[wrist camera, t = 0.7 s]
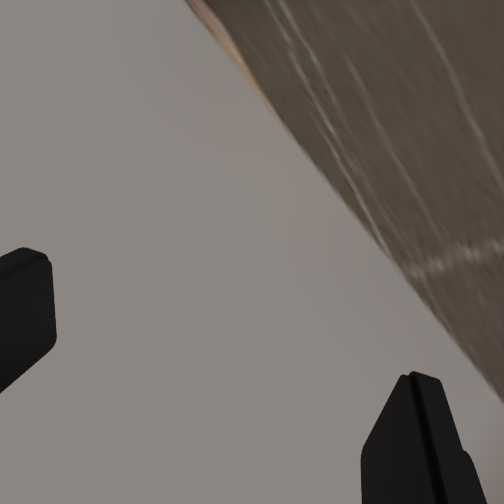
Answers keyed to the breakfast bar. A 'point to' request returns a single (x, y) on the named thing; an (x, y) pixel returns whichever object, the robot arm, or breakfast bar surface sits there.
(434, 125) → the breakfast bar surface
